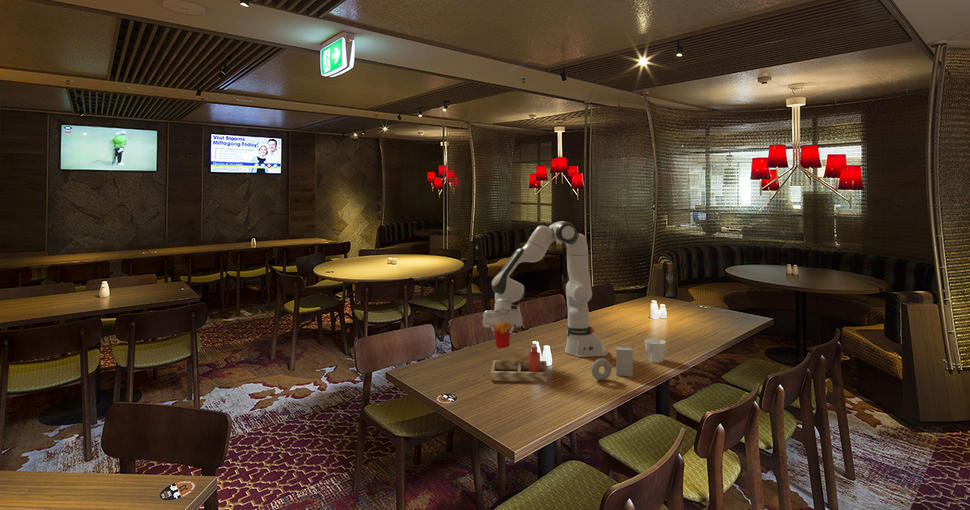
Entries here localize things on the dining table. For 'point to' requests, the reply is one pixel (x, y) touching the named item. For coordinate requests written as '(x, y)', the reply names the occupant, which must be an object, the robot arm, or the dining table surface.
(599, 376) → the donut
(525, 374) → the caddy
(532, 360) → the ketchup bottle
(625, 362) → the supplement box
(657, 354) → the cup
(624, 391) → the dining table surface
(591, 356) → the robot arm
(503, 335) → the french fries
